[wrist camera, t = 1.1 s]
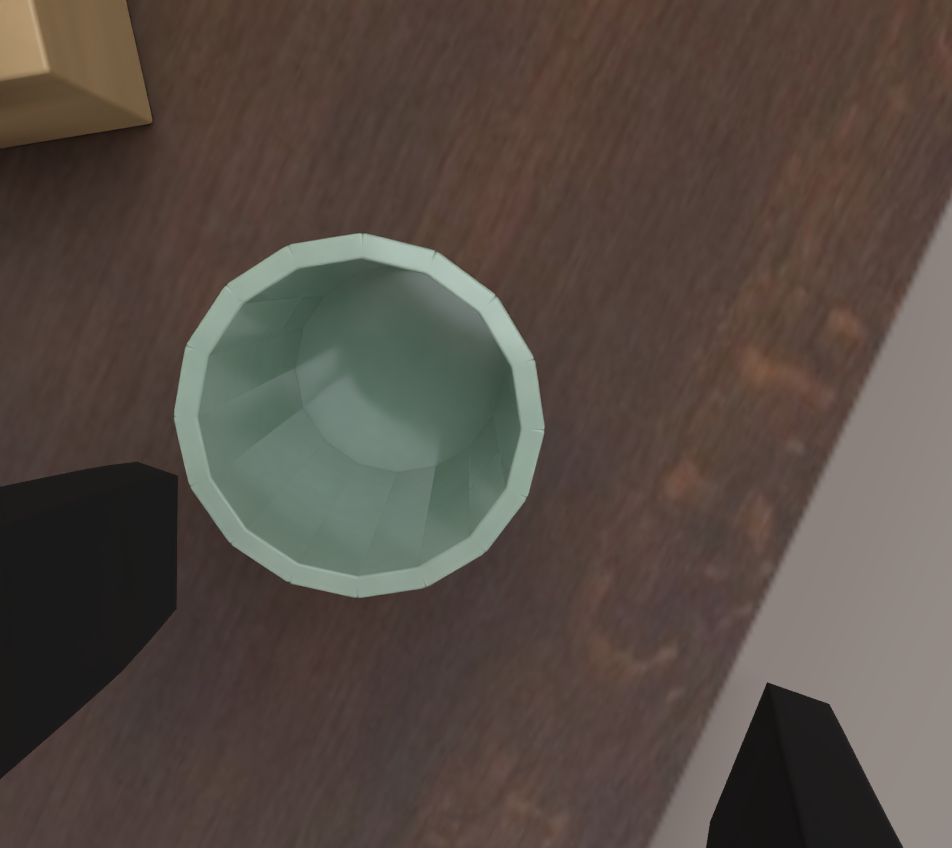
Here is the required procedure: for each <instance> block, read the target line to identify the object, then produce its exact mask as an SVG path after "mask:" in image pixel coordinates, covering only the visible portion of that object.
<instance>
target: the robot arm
mask: <svg viewBox="0 0 952 848" xmlns="http://www.w3.org/2000/svg"><path fill="white" fill-rule="evenodd" d="M177 492H178V476H176V475H174V474H171V473H168V472H165V471H162V470H159V469H156V468H154V467H151V466H148V465H145V464H142V463H139V462H132V463H123V464H115V465H109V466H102V467H97V468H91V469H85V470H80V471H75V472H70V473H65V474H60V475H55V476H50V477H45V478H40V479H36V480H31V481H26V482H21V483H17V484H12V485H7V486H2V487H0V779H1V778H2V777H3V776H4V775H5V774H7V773H8V772H9V771H10V770H11V769H12V768H13V767H15V766H16V765H17V764H18V763H19V762H20V761H21V760H23V759H24V758H25V757H26V756H27V755H28V754H29V753H31V752H32V751H33V750H34V749H35V748H36V747H37V746H39V745H40V744H41V743H42V742H43V741H44V740H45V739H47V738H48V737H49V736H50V735H51V734H52V733H53V732H55V731H56V730H57V729H58V728H59V727H60V726H61V725H63V724H64V723H65V722H66V721H67V720H68V719H69V718H71V717H72V716H73V715H74V714H75V713H76V712H77V711H78V710H80V709H81V708H82V707H83V706H84V705H85V704H86V703H87V702H88V701H90V700H91V699H92V698H93V697H94V696H95V695H96V694H97V693H99V692H100V691H101V690H102V689H103V688H104V687H105V686H106V685H107V684H109V683H110V682H111V681H112V680H113V679H114V678H115V677H116V676H117V675H118V674H119V673H120V672H122V670H123V669H124V668H125V667H126V666H127V665H128V664H129V663H130V662H131V661H132V659H133V658H134V657H135V656H136V655H137V654H138V653H139V652H140V651H141V650H142V648H143V647H144V646H145V645H146V644H147V643H148V642H149V641H150V639H151V638H152V637H153V636H154V635H155V633H156V632H157V631H158V630H159V629H160V628H161V626H162V625H163V624H164V623H165V622H166V620H167V619H168V618H169V617H170V616H171V614H172V613H173V612H174V611H175V610H176V599H177ZM706 848H903V846H902V844H901V843H900V841H899V839H898V837H897V835H896V833H895V831H894V829H893V827H892V826H891V824H890V822H889V820H888V818H887V816H886V814H885V812H884V810H883V808H882V806H881V804H880V803H879V800H878V799H877V797H876V795H875V793H874V791H873V789H872V787H871V785H870V783H869V781H868V779H867V777H866V775H865V773H864V771H863V769H862V767H861V765H860V763H859V761H858V759H857V757H856V755H855V753H854V751H853V749H852V747H851V745H850V743H849V741H848V739H847V737H846V735H845V733H844V731H843V729H842V727H841V726H840V724H839V722H838V720H837V718H836V716H835V714H834V712H833V710H832V708H831V707H830V705H829V704H827V703H825V702H822V701H819V700H816V699H813V698H810V697H807V696H805V695H802V694H799V693H796V692H793V691H790V690H787V689H784V688H782V687H779V686H776V685H773V684H770V683H767V684H766V687H765V689H764V692H763V694H762V697H761V699H760V701H759V704H758V706H757V709H756V711H755V714H754V716H753V718H752V721H751V723H750V726H749V728H748V731H747V733H746V735H745V738H744V741H743V743H742V745H741V748H740V750H739V753H738V755H737V758H736V760H735V762H734V765H733V767H732V770H731V772H730V775H729V777H728V780H727V782H726V785H725V787H724V789H723V792H722V794H721V797H720V799H719V801H718V804H717V806H716V809H715V811H714V814H713V817H712V818H711V821H710V826H709V833H708V840H707V845H706Z"/></svg>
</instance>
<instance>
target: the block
mask: <svg viewBox="0 0 952 848" xmlns="http://www.w3.org/2000/svg"><path fill="white" fill-rule="evenodd" d="M150 123H152V116H151V111H150V107H149V102H148V98H147V93H146V88H145V84H144V79H143V75H142V70H141V66H140V61H139V57H138V52H137V48H136V43H135V39H134V34H133V30H132V25H131V21H130V16H129V12H128V7H127V2H126V0H0V149H1V148H7V147H13V146H19V145H25V144H31V143H37V142H43V141H49V140H55V139H61V138H67V137H73V136H79V135H85V134H91V133H97V132H103V131H109V130H115V129H121V128H127V127H133V126H139V125H146V124H150Z"/></svg>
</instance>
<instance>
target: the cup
mask: <svg viewBox="0 0 952 848" xmlns="http://www.w3.org/2000/svg"><path fill="white" fill-rule="evenodd" d="M174 416H175V417H174V422H175V426H176V430H177V435H178V439H179V443H180V448H181V452H182V456H183V461H184V465H185V469H186V474H187V478H188V482H189V485H191V486H190V487H191V489H192V490H193V492H194V493H195V495H196V496H197V498H198V499H199V500H200V502H201V503H202V505H203V506H204V508H205V509H206V510H207V512H208V513H209V515H210V516H211V518H212V519H213V520H214V522H215V523H216V525H217V526H218V527H219V529H220V530H221V532H222V533H223V535H224V536H225V537H226V539H227V540H228V542H229V543H231V544H232V546H234V547H235V548H237V549H238V550H240V551H241V552H243V553H244V554H246V555H247V556H249V557H250V558H252V559H253V560H255V561H256V562H258V563H259V564H261V565H262V566H264V567H265V568H267V569H268V570H270V571H271V572H273V573H274V574H276V575H277V576H279V577H281V578H282V579H284V580H285V581H287V582H290V583H291V584H295V585H300V586H304V587H309V588H313V589H318V590H322V591H327V592H331V593H336V594H340V595H345V596H349V597H354V598H357V597H358V598H363V597H369V596H376V595H382V594H389V593H396V592H402V591H409V590H415V589H422V588H425V586H426V587H428V586H430V585H432V584H434V583H435V582H437V581H439V580H440V579H442V578H444V577H446V576H447V575H449V574H451V573H452V572H454V571H456V570H457V569H459V568H461V567H463V566H464V565H466V564H468V563H469V562H471V561H473V560H475V559H476V558H478V557H480V556H481V555H483V554H484V552H486V551H488V549H489V548H490V547H491V545H492V544H493V543H494V541H495V540H496V539H497V537H498V536H499V535H500V533H501V532H502V531H503V530H504V528H505V527H506V526H507V524H508V523H509V522H510V520H511V519H512V518H513V516H514V515H515V514H516V513H517V511H518V510H519V509H520V507H521V506H522V505H523V503H524V502H525V501H526V497H527V496H528V495H529V491H530V487H531V483H532V479H533V475H534V472H535V468H536V464H537V460H538V456H539V452H540V449H541V445H542V441H543V437H544V429H545V425H544V418H543V411H542V404H541V397H540V390H539V383H538V376H537V369H536V362H535V360H534V357H533V355H532V353H531V351H530V350H529V348H528V346H527V345H526V343H525V341H524V340H523V338H522V336H521V335H520V333H519V331H518V330H517V328H516V326H515V325H514V323H513V321H512V320H511V318H510V316H509V315H508V313H507V311H506V310H505V308H504V306H503V305H502V303H501V301H500V300H499V298H498V297H496V295H495V294H494V293H493V292H492V291H490V290H489V289H488V288H486V287H485V286H484V285H482V284H481V283H480V282H478V281H477V280H475V279H474V278H473V277H471V276H470V275H469V274H467V273H466V272H465V271H463V270H462V269H461V268H459V267H458V266H457V265H455V264H454V263H452V262H451V261H450V260H448V259H447V258H446V257H444V256H443V255H442V254H440V253H439V252H436V251H434V250H432V249H428V248H424V247H420V246H416V245H412V244H408V243H404V242H400V241H396V240H392V239H387V238H383V237H379V236H375V235H371V234H367V233H363V234H362V233H355V234H349V235H343V236H337V237H331V238H325V239H319V240H312V241H306V242H300V243H294V244H290V245H289V246H285V247H283V248H282V249H280V250H279V251H277V252H275V253H274V254H272V255H271V256H269V257H268V258H266V259H265V260H263V261H261V262H260V263H258V264H257V265H255V266H254V267H252V268H251V269H249V270H247V271H246V272H244V273H243V274H241V275H240V276H238V277H237V278H235V279H233V280H232V281H230V282H229V283H228V284H227V286H225V287H224V288H223V289H222V291H221V292H220V294H219V295H218V297H217V298H216V300H215V301H214V303H213V304H212V306H211V307H210V309H209V310H208V312H207V314H206V315H205V317H204V318H203V320H202V321H201V323H200V324H199V326H198V327H197V329H196V330H195V332H194V333H193V335H192V336H191V338H190V339H189V341H188V342H187V346H186V347H185V351H184V357H183V363H182V368H181V374H180V380H179V385H178V391H177V397H176V403H175V408H174Z"/></svg>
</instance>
